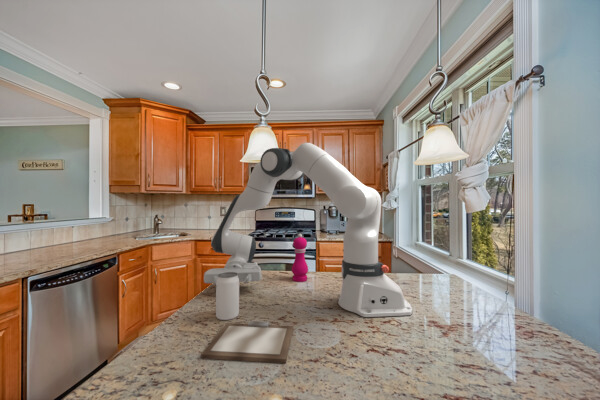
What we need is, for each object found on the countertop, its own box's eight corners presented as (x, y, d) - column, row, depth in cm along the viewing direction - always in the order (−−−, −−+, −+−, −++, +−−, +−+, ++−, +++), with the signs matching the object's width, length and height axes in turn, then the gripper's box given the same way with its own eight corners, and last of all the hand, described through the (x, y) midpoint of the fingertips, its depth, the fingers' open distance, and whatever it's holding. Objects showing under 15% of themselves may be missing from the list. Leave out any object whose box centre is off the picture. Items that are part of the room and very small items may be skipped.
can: (218, 311, 75) (219, 271, 76) (240, 310, 76) (240, 271, 76) (213, 321, 69) (213, 277, 69) (236, 320, 70) (237, 277, 70)
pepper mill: (308, 277, 111) (308, 232, 111) (307, 282, 104) (307, 234, 104) (292, 277, 112) (292, 232, 112) (290, 282, 105) (290, 234, 105)
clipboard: (293, 328, 65) (293, 323, 65) (285, 363, 51) (285, 355, 51) (226, 325, 67) (226, 320, 67) (201, 358, 52) (201, 350, 52)
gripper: (207, 263, 96) (199, 273, 82) (261, 261, 100) (261, 270, 86) (207, 280, 96) (199, 292, 82) (260, 277, 99) (261, 289, 86)
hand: (231, 281), depth 84 cm, fingers open, 8 cm apart
